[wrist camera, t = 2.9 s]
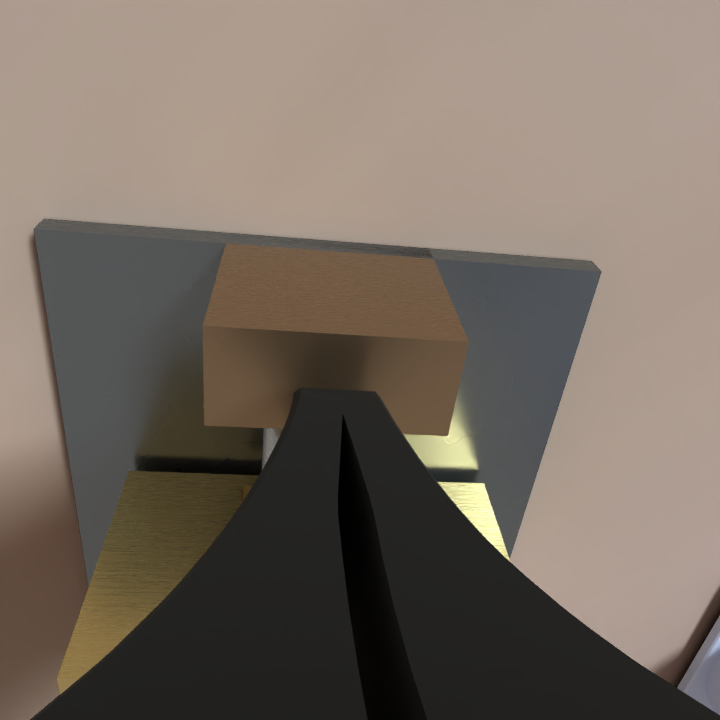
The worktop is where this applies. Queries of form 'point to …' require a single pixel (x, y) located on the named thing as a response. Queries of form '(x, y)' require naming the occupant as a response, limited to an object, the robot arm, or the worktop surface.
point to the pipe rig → (299, 352)
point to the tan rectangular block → (180, 551)
